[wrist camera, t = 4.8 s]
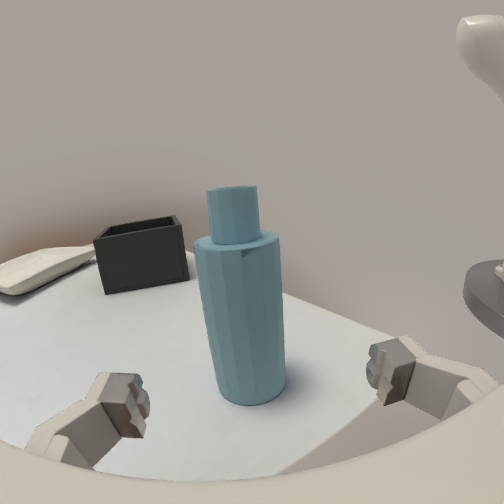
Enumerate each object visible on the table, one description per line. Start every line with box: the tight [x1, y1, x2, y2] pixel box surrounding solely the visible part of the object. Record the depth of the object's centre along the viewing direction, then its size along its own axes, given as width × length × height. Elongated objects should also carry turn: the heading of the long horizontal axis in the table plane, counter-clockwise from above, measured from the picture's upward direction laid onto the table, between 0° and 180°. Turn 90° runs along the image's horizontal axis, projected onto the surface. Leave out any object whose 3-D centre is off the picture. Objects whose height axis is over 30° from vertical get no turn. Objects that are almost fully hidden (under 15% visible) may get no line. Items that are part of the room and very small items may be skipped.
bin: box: [93, 215, 190, 295], centre depth 45 cm, size 14×14×9 cm
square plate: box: [0, 247, 95, 295], centre depth 49 cm, size 27×27×4 cm
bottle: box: [193, 185, 285, 405], centre depth 18 cm, size 5×5×14 cm
